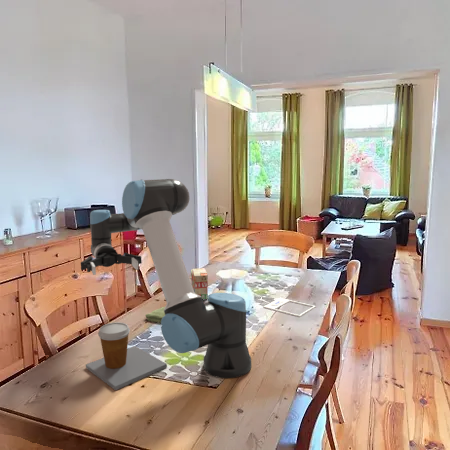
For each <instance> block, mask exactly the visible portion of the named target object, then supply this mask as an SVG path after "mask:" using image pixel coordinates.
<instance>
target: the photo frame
mask: <svg viewBox="0 0 450 450" xmlns="http://www.w3.org/2000/svg"><path fill="white" fill-rule="evenodd" d="M289 302H290V303H294V304H298V305H301V306H302V305H303V306H307V307H310V308H309V309H307V310H305V311H303V312H301V313H300V314H297V313H294V312H293V313H292V312H289V311H285V310H281V309H279V308H281V307H283V306H284V305H286V304H288V303H289ZM315 308H316V305H312V304H308V303H304V302H300V301H297V300H296V301H295V300H291V299H286V298H282V297H279V298H277V299H276V300H273V301H271V302H269V303H268V304H266V305H264V306H263V309H268V310H271V311H274V312H275V311H276V312H278V313H283V314H287V315H290V316H295V317H298V318H301V317H303V316H304V315H306V314H307V313H309V312H310V311H312V310H314V309H315Z"/></svg>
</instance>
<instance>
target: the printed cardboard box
mask: <svg viewBox="0 0 450 450" xmlns="http://www.w3.org/2000/svg"><path fill="white" fill-rule="evenodd" d="M208 275H209V274H208V272H207V270H206V268H205V267H202V268H192V269H190V277H191V278H190V281H191V284H192V287H193V290H194V293H195V294H197V295H199V296H201V297H202V299H208V296H209V295H208V289H209V287H208V285H209V284H208V282H209V281H208V277H209V276H208Z"/></svg>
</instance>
